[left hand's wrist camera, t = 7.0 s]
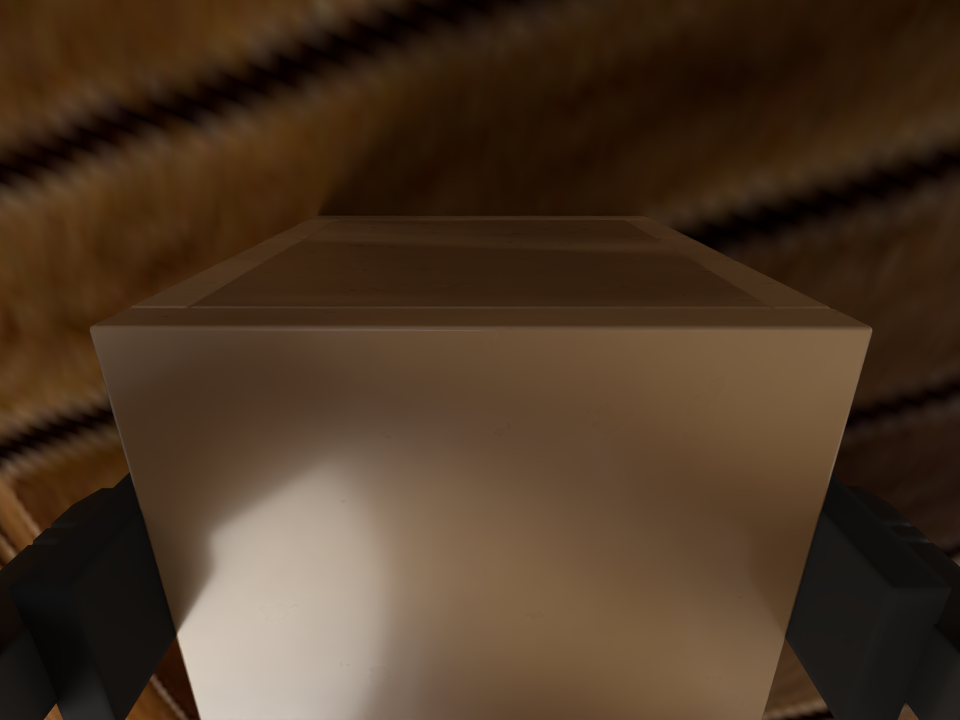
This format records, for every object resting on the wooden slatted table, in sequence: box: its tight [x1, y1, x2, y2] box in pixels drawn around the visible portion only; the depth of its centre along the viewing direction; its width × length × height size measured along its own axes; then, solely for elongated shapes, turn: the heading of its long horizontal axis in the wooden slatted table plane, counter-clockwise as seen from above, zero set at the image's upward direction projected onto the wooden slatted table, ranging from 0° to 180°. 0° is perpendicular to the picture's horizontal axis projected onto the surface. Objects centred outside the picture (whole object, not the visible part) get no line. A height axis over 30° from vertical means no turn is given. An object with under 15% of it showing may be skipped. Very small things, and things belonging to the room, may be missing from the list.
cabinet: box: [90, 216, 872, 720], centre depth 16 cm, size 17×11×11 cm, turn 0°
